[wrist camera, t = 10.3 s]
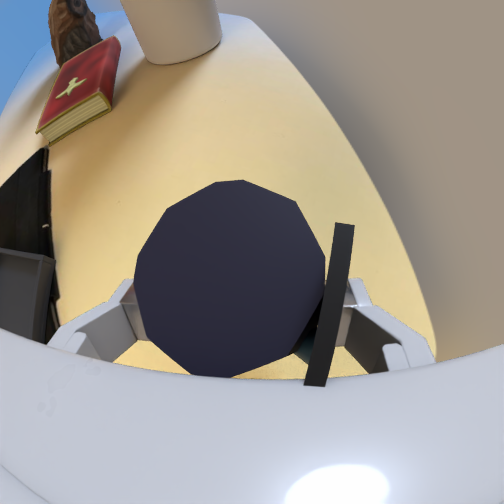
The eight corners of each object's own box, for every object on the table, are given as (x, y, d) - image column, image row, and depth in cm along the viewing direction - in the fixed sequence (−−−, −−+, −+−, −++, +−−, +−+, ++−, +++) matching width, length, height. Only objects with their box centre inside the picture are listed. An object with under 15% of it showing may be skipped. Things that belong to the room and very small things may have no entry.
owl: (89, 38, 41) (60, -13, 22) (123, 28, 39) (95, -32, 20) (58, 69, 38) (21, 16, 19) (89, 59, 36) (51, -6, 17)
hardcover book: (122, 48, 35) (114, 33, 31) (113, 109, 29) (99, 89, 25) (71, 76, 35) (62, 63, 31) (49, 146, 29) (34, 131, 25)
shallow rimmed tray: (45, 407, 19) (32, 409, 17) (-10, 366, 21) (-20, 366, 19) (56, 260, 24) (43, 255, 22) (2, 250, 25) (-8, 246, 23)
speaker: (365, 305, 14) (455, 250, 4) (310, 391, 13) (306, 490, 4) (255, 240, 17) (184, 122, 7) (203, 320, 16) (68, 290, 6)
